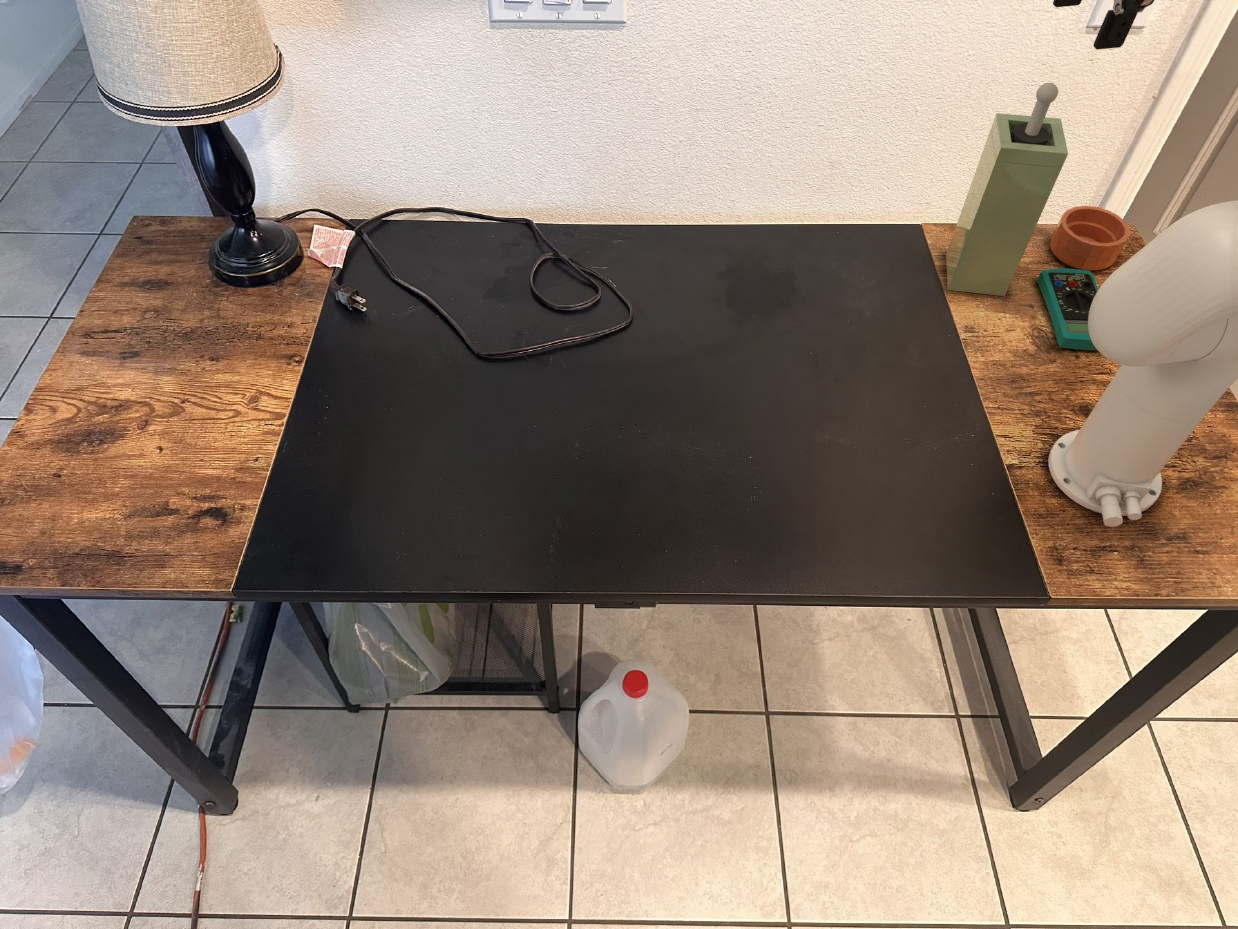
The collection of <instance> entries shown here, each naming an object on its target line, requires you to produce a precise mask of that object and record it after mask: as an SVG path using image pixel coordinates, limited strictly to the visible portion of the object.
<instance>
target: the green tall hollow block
mask: <svg viewBox="0 0 1238 929" xmlns="http://www.w3.org/2000/svg"><path fill="white" fill-rule="evenodd" d="M1030 117H1031V115H1022V114H1011V113H1000V112H996V113H995V116H994V118H993V121H992V124H991V127H990V130H989V133H988V135H987V138H986V142H985V144H984V147H983V150H982V153H981V155H980V159H979V161H978V163H977V167H976V170H975V172H974V175H973V178H972V180H971V184H970V186H969V189H968V192H967V194H966V197H965V200H964V203H963V206H962V209H961V212H960V214H959V217H958V220H957V222H956V226H955V228H954V231H953V234H952V237H951V240H950V242H949V245H948V248H947V251H946V253H945V263H946V264H945V265H946V267H945V268H946V280H947V290H948V291H955V292H962V293H963V292H964V293H973V294H981V295H989V296H998V297H1005V296H1006V294H1007V291H1008V290H1009V288H1010V285H1011V284H1012V281H1013V278H1014V277H1015V274H1016V272H1017V270H1018V267H1019V265H1020V263H1021V261H1022V258H1023V256H1024V254H1025V252H1026V249H1027V247H1028V245H1029V243H1030V242H1031V241H1030V240H1031V239H1032V236H1033V234H1034V232H1035V229H1036V227H1037V225H1038V223H1039V220H1040V219H1041V216H1042V213H1043V212H1044V209H1045V207H1046V205H1047V202H1048V200H1049V198H1050V195H1051V193H1052V191H1053V188H1054V187H1055V184H1056V183H1057V181H1058V178H1059V176H1060V173H1061V171H1062V169H1063V167H1064V164H1065V162H1066V160H1067V158H1068V155H1069V152H1068V146H1067V142H1066V136H1065V132H1064V128H1063V122H1062V118H1059V117H1058V118H1057V117H1047V116H1045V118H1044V121H1043V123H1042V126H1041V127H1043V128H1045V129H1046V130H1047V131H1048V132H1049V139H1048V142H1047V144H1046V145H1034V144H1023V143H1012V142H1011V134H1012V132H1013V129H1014V128H1015V127H1016V126H1017V125H1019V124H1025V123H1028V122H1029V120H1030Z"/></svg>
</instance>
